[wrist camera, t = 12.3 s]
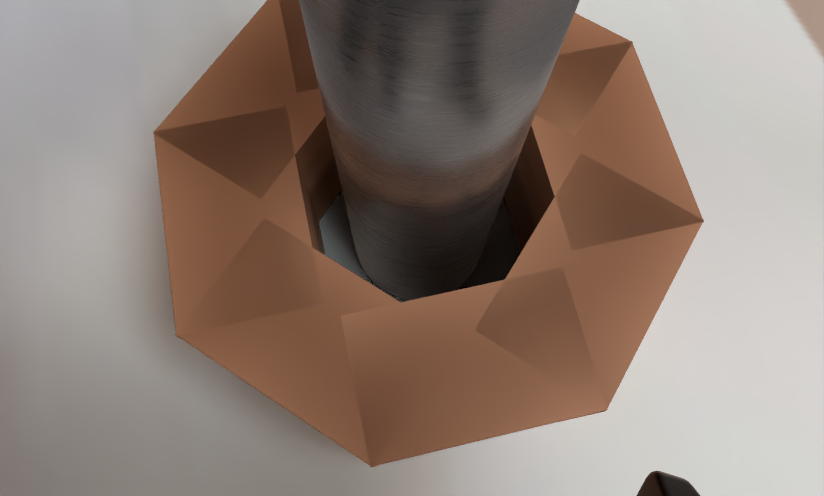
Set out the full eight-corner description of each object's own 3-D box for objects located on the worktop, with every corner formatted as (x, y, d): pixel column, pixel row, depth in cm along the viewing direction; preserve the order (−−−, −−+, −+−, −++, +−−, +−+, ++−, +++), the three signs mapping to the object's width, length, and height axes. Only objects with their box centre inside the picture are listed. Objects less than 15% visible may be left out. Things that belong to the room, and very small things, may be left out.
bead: (493, 542, 15) (525, 571, 11) (131, 298, 17) (50, 251, 13) (685, 181, 18) (762, 107, 14) (362, 7, 20) (352, -101, 16)
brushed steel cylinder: (439, 325, 16) (595, -227, 3) (329, 256, 17) (69, -457, 4) (505, 220, 17) (835, -543, 4) (399, 158, 18) (389, -689, 5)
